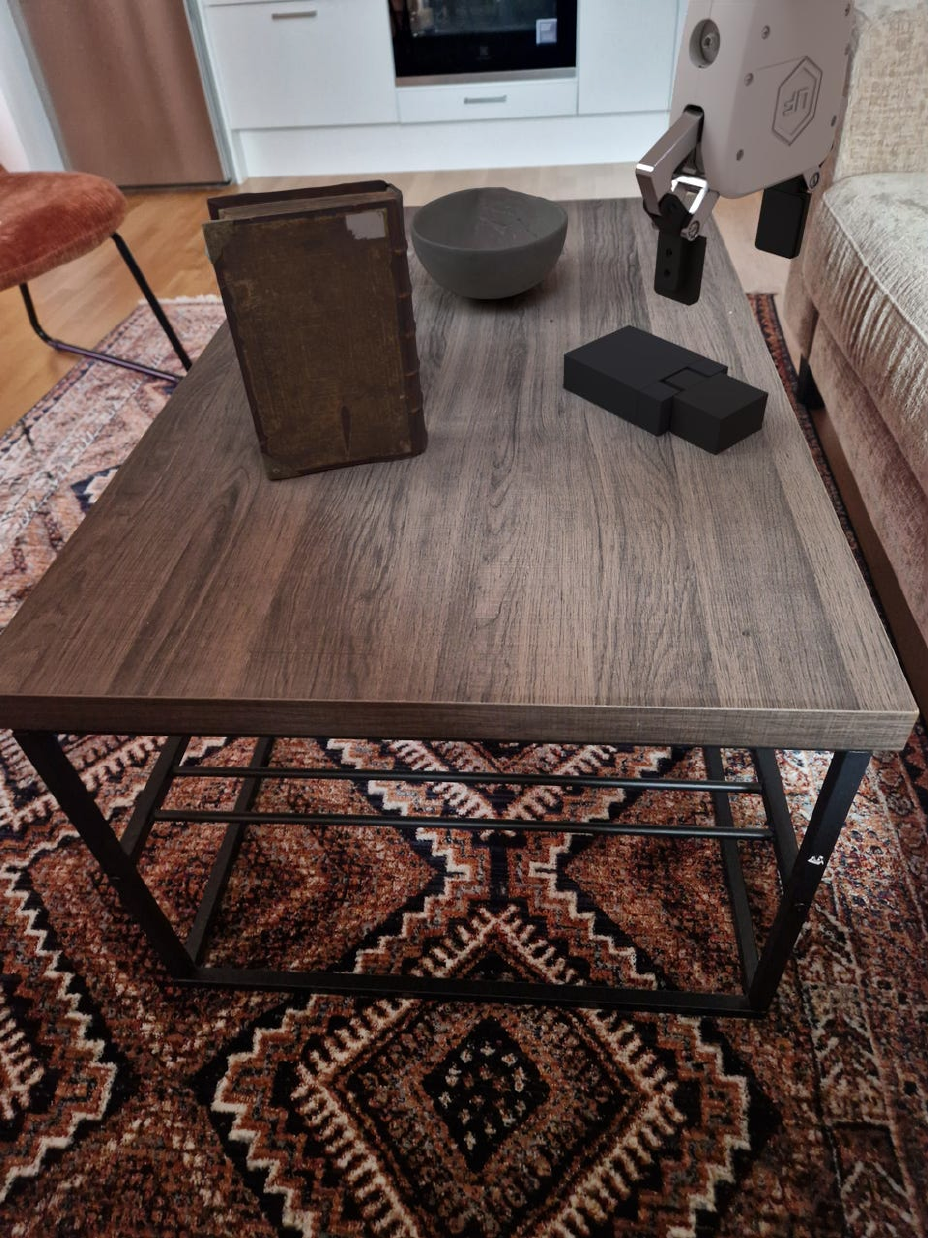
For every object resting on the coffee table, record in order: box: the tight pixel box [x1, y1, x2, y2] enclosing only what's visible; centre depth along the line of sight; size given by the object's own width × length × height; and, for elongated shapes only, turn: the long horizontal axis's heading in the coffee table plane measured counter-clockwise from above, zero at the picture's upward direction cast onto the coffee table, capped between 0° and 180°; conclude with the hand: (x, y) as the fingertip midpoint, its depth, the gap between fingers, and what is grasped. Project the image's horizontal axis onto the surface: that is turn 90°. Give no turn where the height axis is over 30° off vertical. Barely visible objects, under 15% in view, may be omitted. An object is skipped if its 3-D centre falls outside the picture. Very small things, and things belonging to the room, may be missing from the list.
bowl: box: [409, 186, 569, 300], centre depth 110 cm, size 20×20×10 cm
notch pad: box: [562, 324, 729, 437], centre depth 90 cm, size 14×10×4 cm
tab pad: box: [665, 369, 770, 456], centre depth 85 cm, size 9×7×4 cm
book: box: [201, 179, 429, 481], centre depth 78 cm, size 17×7×25 cm, turn 95°
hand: (727, 274), depth 54 cm, fingers open, 9 cm apart
